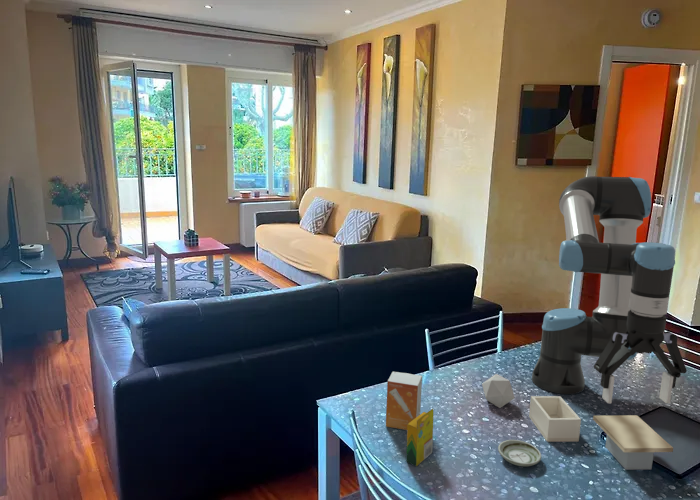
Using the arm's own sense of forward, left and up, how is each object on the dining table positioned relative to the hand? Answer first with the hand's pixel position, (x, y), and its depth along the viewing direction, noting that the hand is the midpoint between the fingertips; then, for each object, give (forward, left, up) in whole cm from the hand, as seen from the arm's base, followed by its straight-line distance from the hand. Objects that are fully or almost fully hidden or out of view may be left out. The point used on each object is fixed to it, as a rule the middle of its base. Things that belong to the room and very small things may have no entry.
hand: (635, 400), depth 119 cm
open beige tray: (-18, 0, -15) cm, 23 cm away
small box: (-47, -26, -15) cm, 56 cm away
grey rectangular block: (0, 0, -15) cm, 15 cm away
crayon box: (-35, -35, -15) cm, 52 cm away
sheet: (0, 0, -9) cm, 9 cm away
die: (-35, +2, -15) cm, 38 cm away
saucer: (-18, -19, -15) cm, 30 cm away
